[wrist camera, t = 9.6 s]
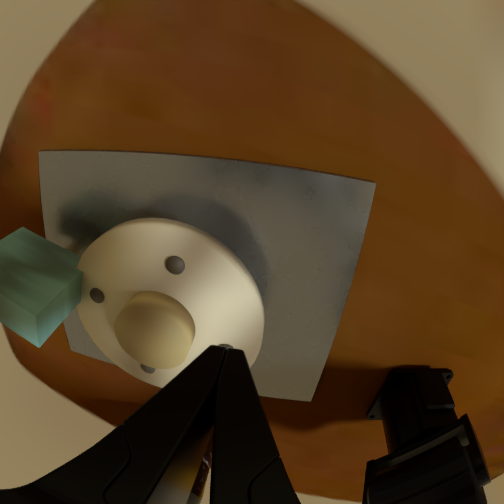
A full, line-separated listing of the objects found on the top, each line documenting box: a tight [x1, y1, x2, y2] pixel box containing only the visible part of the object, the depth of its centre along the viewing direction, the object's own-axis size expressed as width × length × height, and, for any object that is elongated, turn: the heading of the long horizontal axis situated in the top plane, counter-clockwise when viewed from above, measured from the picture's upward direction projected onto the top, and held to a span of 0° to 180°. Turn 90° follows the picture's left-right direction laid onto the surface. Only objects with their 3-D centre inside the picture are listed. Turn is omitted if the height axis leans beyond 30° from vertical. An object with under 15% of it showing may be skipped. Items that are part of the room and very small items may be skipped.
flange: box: [0, 218, 265, 388], centre depth 16 cm, size 18×12×6 cm
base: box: [39, 150, 376, 402], centre depth 19 cm, size 18×22×6 cm
